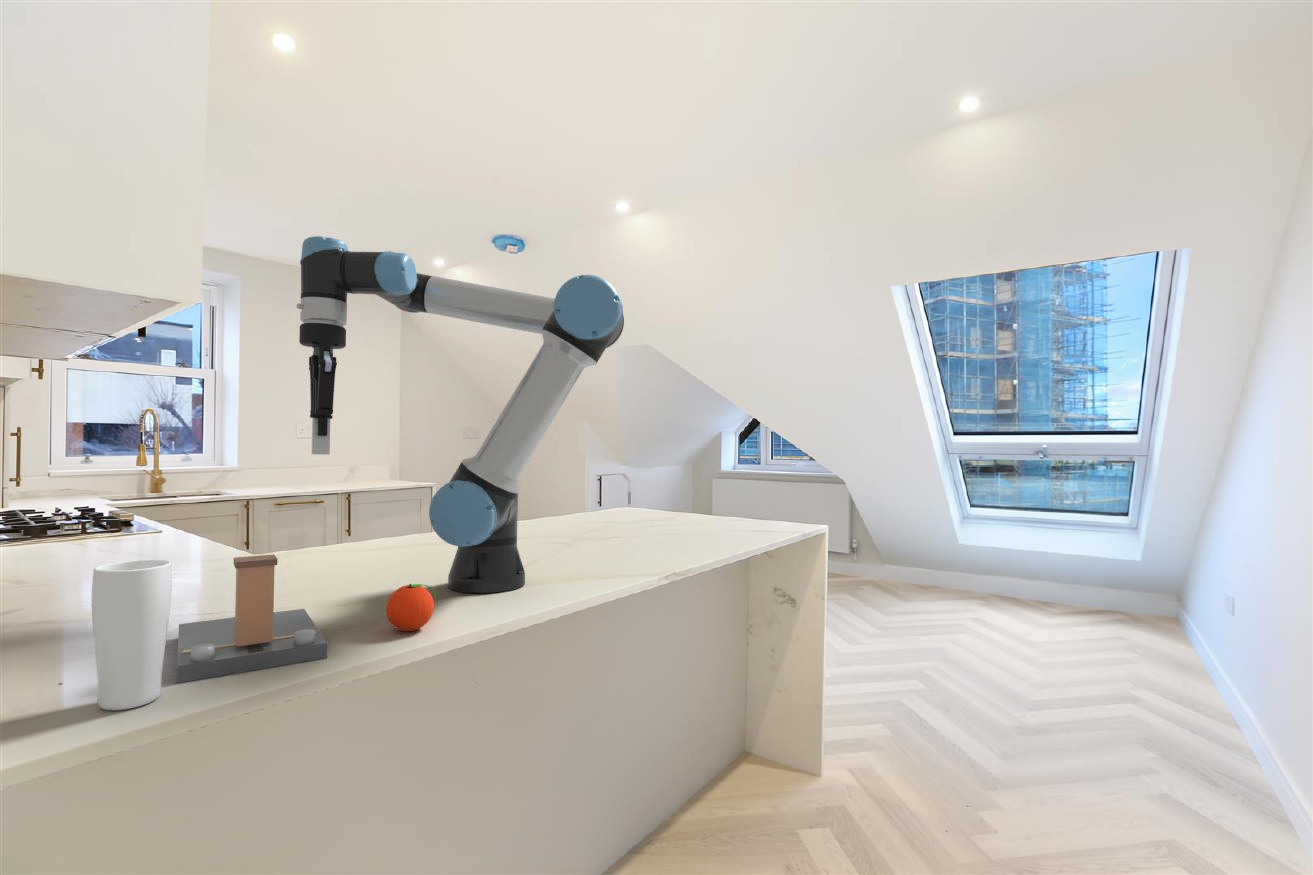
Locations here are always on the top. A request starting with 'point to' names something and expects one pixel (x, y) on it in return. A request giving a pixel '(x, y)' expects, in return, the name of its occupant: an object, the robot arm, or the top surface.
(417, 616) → the clementine
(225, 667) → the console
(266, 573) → the fader tab
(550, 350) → the robot arm
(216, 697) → the top surface
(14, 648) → the top surface
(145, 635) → the white tumbler
